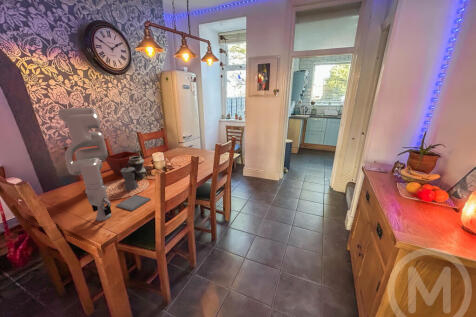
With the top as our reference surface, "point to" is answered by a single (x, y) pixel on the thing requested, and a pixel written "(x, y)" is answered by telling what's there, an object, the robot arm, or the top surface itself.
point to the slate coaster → (133, 202)
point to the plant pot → (120, 161)
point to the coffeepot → (129, 178)
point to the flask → (102, 214)
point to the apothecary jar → (137, 166)
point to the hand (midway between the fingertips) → (102, 212)
